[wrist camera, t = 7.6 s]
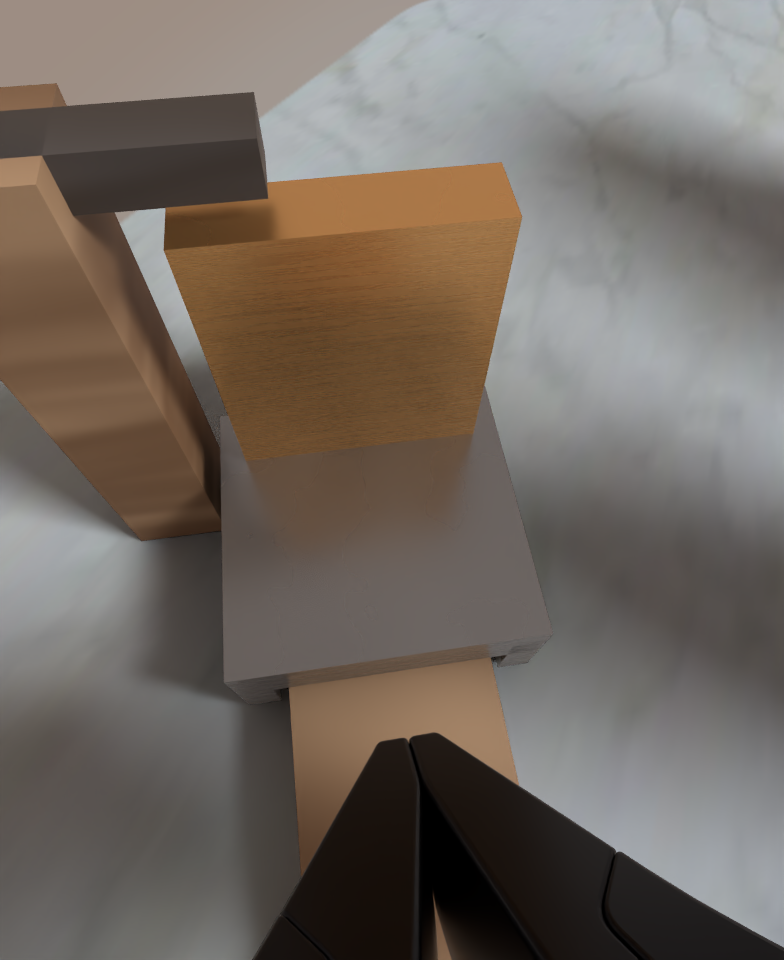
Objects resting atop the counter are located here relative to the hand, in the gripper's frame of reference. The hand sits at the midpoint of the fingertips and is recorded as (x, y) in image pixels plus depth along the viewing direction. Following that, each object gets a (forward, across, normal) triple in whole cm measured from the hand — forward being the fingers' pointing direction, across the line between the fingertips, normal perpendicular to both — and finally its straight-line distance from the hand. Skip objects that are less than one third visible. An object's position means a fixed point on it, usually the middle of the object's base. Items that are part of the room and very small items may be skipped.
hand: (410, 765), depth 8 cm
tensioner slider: (+9, 0, -1) cm, 10 cm away
